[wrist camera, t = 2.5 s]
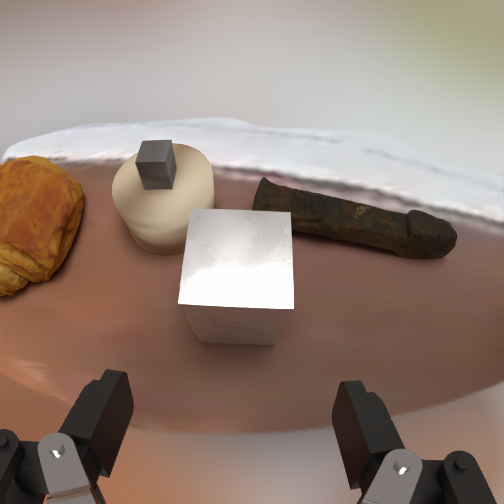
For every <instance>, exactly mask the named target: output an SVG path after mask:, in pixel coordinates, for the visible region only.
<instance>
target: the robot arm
mask: <svg viewBox="0 0 504 504" xmlns="http://www.w3.org/2000/svg"><path fill="white" fill-rule="evenodd" d="M133 408H134V403H133V397H132V393H131V389H130V385H129V380H128V376H127V373H126V372H123V371H116V370H110V369H107V370H105V372H104V373H103V375H102V377H101V379H100V380H93V381H91V382H90V383H89V384H88V385H86V386H85V387H84V388H83V390H82V392H81V393H80V395H79V398H77V400H76V402H75V405H73V407H72V409H71V410H70V412H69V414H68V416H67V417H66V419H65V421H64V423H63V425H62V426H61V428H60V430H59V431H58V433H51V434H48V435H46V436H45V437H43V438H42V439H41V441H40V442H33V441H19V439H18V437H17V436H16V435H15V433H14V432H12V431H10V430H7V429H1V430H0V504H43V502H44V499H45V496H46V494H49V495H50V497H47V504H106V501H105V499H104V497H103V495H102V493H101V491H100V489H99V486H98V484H97V480H98V477H99V475H101V476H105V477H108V478H109V477H110V474H111V471H112V468H113V466H114V463H115V460H116V457H117V455H118V452H119V449H120V446H121V444H122V440H123V438H124V436H125V433H126V430H127V428H128V425H129V422H130V420H131V417H132V414H133ZM332 423H333V427H334V431H335V434H336V438H337V441H338V445H339V448H340V452H341V456H342V459H343V463H344V467H345V471H346V474H347V478H348V482H349V485H350V489H357V488H361V492H362V495H361V497H360V499H359V500H358V502H357V504H497V503H496V501H495V499H494V496H493V494H492V492H491V490H490V488H489V486H488V484H487V482H486V480H485V478H484V476H483V473H482V471H481V470H480V468H479V466H478V464H477V462H476V460H475V458H474V457H473V456H472V455H471V454H469V453H467V452H464V451H454V452H451V453H450V454H448V455H447V457H446V458H445V459H444V460H421V459H420V457H419V456H418V455H417V454H416V453H414V452H412V451H410V450H407V449H405V447H404V445H403V443H402V441H401V438H400V436H399V434H398V432H397V430H396V428H395V426H394V423H393V421H392V420H391V417H390V415H389V413H388V412H387V409H386V407H385V405H384V402H383V400H382V399H380V398H379V397H378V396H377V395H376V394H375V393H374V392H370V393H367V392H366V389H365V387H364V385H363V383H362V381H360V380H359V381H345V382H341V383H340V385H339V388H338V392H337V396H336V399H335V403H334V406H333V410H332Z"/></svg>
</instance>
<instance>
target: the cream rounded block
mask: <svg viewBox="0 0 504 504" xmlns="http://www.w3.org/2000/svg"><path fill="white" fill-rule="evenodd" d="M112 196H113V199H114V202H115V204H116V206H117V208H118V210H119V212H120V214H121V216H122V218H123V220H124V222H125V224H126V226H127V228H128V229H129V231H130V233H131V235H132V237H133V239H134V240H135V242H136V243H137V244H138V245H139V246H140V247H142V248H143V249H145V250H147V251H149V252H151V253H154V254H159V255H174V254H179V253H183V252H185V246H186V239H187V232H188V225H189V219H190V212H191V208H195V209H216V206H215V195H214V184H213V172H212V167H211V165H210V162H209V161H208V159H207V158H206V157H205V155H204V154H202V153H201V152H200V151H198V150H197V149H195V148H193V147H190V146H187V145H183V144H176V143H172V141H171V140H152V141H142V144H141V146H140V149H139V152H138V153H136V154H135V155H133V156H132V157H131V158H129V159H128V160H127V161H126V162H125V163H124V164H123V165H122V166H121V168H120V169H119V171H118V172H117V174H116V176H115V178H114V181H113V185H112Z"/></svg>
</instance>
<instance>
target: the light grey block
mask: <svg viewBox="0 0 504 504" xmlns="http://www.w3.org/2000/svg"><path fill="white" fill-rule="evenodd" d="M178 304H179V306H180V308H181V310H182V311H183V313H184V315H185V317H186V319H187V320H188V322H189V324H190V326H191V327H192V329H193V331H194V333H195V334H196V336H197V338H198V340H199V341H200V342H207V343H225V344H248V345H274V344H275V342H276V340H277V338H278V337H279V335H280V333H281V331H282V329H283V328H284V326H285V324H286V322H287V320H288V318H289V317H290V315H291V313H292V311H293V309H294V295H293V261H292V234H291V212H272V211H251V210H227V209H195V208H191V212H190V219H189V225H188V232H187V239H186V246H185V253H184V260H183V268H182V276H181V284H180V292H179V301H178Z"/></svg>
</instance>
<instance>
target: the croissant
mask: <svg viewBox="0 0 504 504" xmlns="http://www.w3.org/2000/svg"><path fill="white" fill-rule="evenodd" d="M82 194H83V191H82V187H81V185H80V184H79V183H77V182H76V181H75V180H74V179H73V178H72V177H70V175H69V173H67V172H66V171H64V170H63V169H61V168H59V167H58V166H56V165H55V164H53V163H51V162H50V161H49V159H46V158H43V157H40V156H28V157H23V158H17V159H15V160H14V161H11V162H5V163H4V164H3V165H0V296H4V295H6V294H8V295H15V291H17V290H18V289H20V288H23V287H25V286H26V285H27V284H28V282H29V280H30V281H31V282H37V283H38V282H46V281H47V280H49V279H50V277H51V276H52V274H53V273H54V272H55V271H56V270H57V269H58V268H59V267H60V265H61V264H62V262H63V260H64V259H65V257H66V255H67V253H68V251H69V250H70V248H71V245H72V241H73V238H74V236H75V234H76V231H77V228H78V226H79V223H80V219H81V211H82V210H83V198H82Z"/></svg>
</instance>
